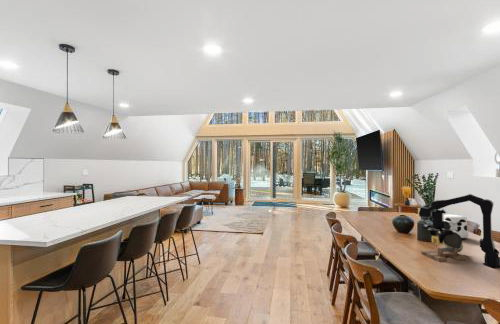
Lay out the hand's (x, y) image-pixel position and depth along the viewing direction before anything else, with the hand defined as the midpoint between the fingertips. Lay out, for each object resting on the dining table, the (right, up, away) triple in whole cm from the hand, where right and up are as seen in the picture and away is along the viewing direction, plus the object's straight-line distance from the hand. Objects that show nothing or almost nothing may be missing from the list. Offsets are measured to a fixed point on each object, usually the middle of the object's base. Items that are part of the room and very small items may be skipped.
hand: (437, 241), depth 178 cm
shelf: (+1, -9, -4) cm, 10 cm away
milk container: (+45, -9, +42) cm, 63 cm away
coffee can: (+15, -4, +6) cm, 17 cm away
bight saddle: (0, -1, 0) cm, 1 cm away
